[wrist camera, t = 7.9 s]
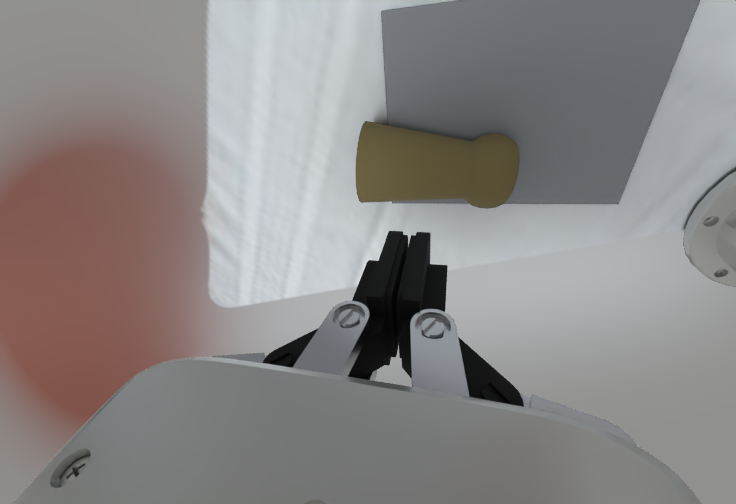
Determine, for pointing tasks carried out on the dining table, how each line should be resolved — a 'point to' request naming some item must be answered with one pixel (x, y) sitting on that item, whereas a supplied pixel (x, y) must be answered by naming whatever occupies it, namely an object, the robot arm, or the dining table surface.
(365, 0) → the dining table surface
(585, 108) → the rubber mat
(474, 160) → the cork
